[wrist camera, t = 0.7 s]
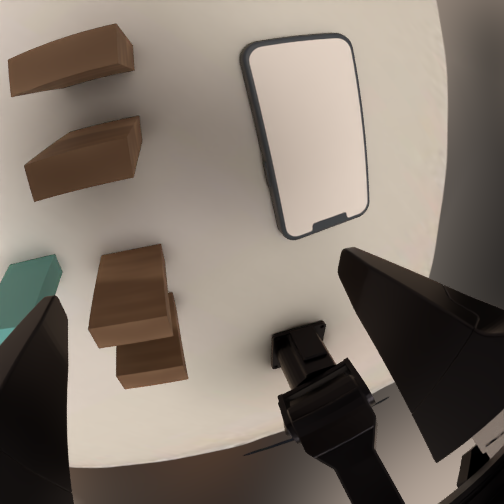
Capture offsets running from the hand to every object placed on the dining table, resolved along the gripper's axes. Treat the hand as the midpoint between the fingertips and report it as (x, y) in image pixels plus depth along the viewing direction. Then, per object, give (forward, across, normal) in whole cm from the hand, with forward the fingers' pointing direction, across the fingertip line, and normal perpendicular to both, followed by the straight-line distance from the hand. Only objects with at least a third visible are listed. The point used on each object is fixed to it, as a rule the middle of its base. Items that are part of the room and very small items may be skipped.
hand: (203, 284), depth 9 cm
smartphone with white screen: (+14, -10, -1) cm, 18 cm away
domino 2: (+14, +5, -7) cm, 16 cm away
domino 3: (+14, +5, -2) cm, 15 cm away
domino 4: (+14, +4, +8) cm, 16 cm away
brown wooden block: (+14, +4, +13) cm, 19 cm away
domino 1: (+14, +13, +7) cm, 20 cm away
